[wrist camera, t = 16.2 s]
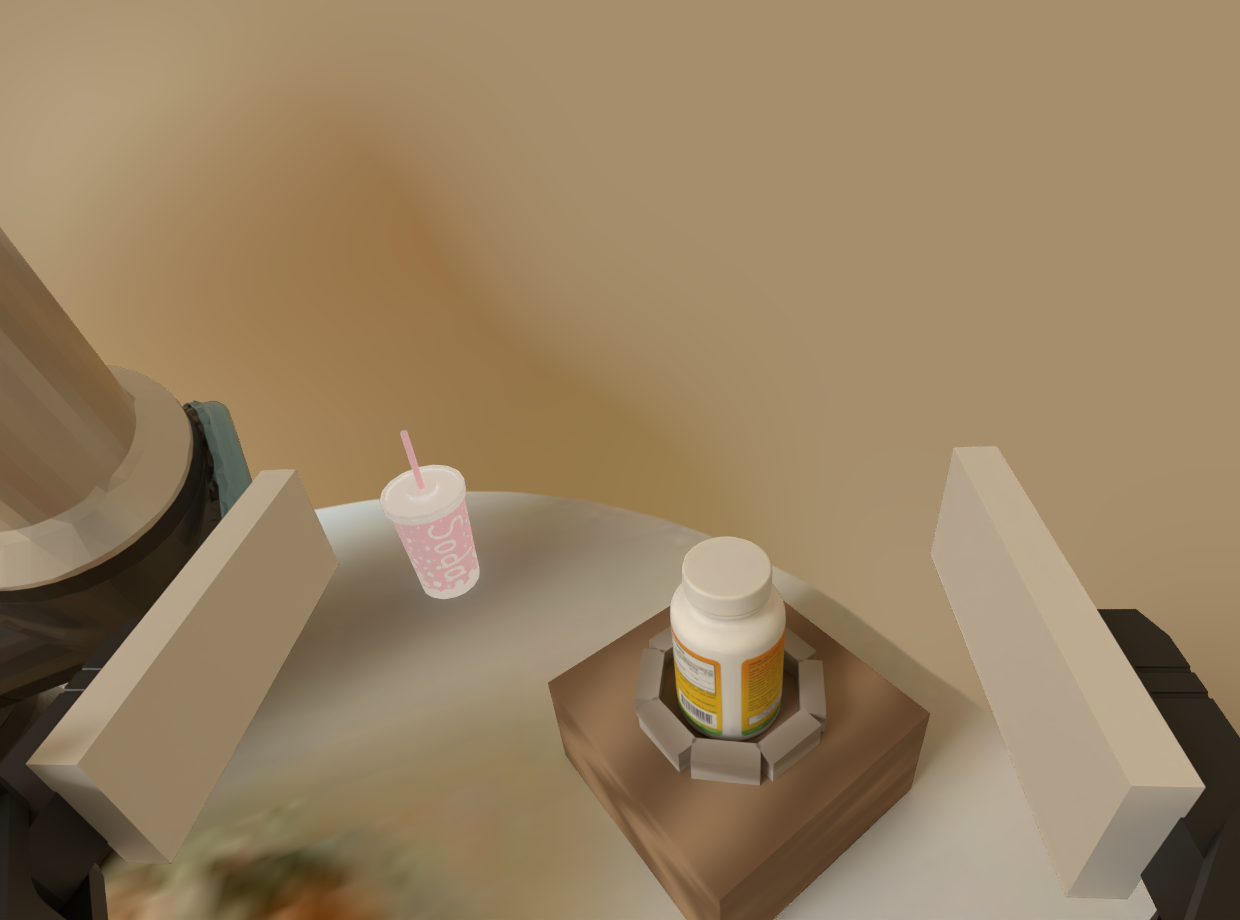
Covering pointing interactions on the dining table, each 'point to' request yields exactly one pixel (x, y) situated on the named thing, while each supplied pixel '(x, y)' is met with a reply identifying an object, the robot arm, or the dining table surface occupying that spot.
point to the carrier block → (739, 768)
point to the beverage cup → (433, 525)
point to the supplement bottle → (728, 639)
